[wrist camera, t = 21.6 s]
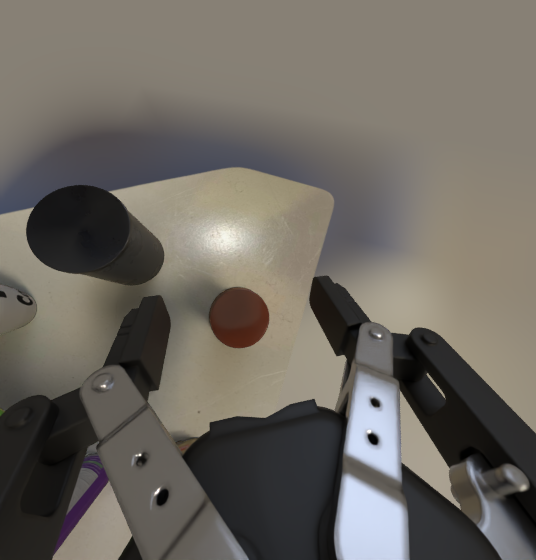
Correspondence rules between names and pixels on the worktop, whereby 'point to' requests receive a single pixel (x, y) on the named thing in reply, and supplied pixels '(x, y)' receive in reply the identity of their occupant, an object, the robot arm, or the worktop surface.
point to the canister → (239, 318)
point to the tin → (93, 236)
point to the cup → (15, 309)
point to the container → (83, 494)
